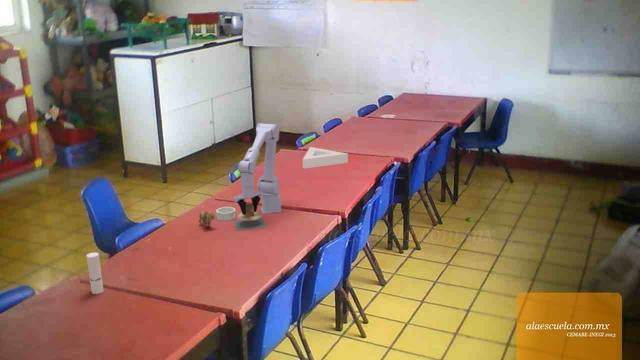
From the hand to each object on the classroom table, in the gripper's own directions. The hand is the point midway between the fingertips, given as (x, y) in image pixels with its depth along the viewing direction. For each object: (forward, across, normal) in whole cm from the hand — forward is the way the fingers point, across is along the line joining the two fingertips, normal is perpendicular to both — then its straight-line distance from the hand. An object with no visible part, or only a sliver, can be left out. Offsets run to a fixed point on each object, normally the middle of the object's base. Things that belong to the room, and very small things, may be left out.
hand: (249, 212), depth 307 cm
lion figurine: (+6, +17, -11) cm, 21 cm away
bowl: (+6, +4, -15) cm, 17 cm away
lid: (+2, 0, 0) cm, 2 cm away
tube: (+6, +80, +22) cm, 84 cm away
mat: (+6, 0, 0) cm, 6 cm away
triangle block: (+7, -92, -60) cm, 110 cm away
